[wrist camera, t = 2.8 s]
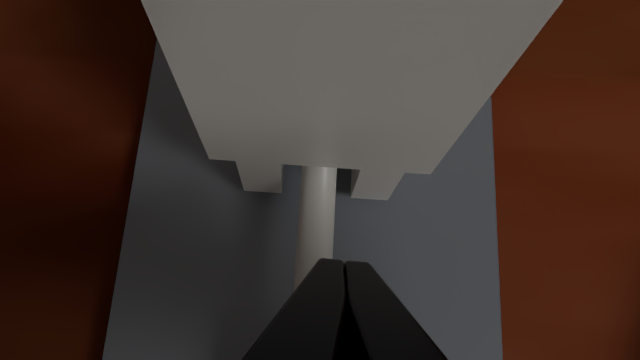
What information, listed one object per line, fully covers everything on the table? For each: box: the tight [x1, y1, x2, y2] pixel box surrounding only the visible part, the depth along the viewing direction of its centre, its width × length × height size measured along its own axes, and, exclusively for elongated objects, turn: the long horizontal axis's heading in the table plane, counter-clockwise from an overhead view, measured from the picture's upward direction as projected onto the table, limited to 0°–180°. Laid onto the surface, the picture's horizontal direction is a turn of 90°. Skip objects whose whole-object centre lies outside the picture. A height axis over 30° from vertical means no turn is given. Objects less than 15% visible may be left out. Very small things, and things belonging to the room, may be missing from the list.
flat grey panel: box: [102, 39, 503, 360], centre depth 18 cm, size 26×12×5 cm, turn 177°
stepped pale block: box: [141, 0, 563, 200], centre depth 13 cm, size 4×6×10 cm, turn 87°
